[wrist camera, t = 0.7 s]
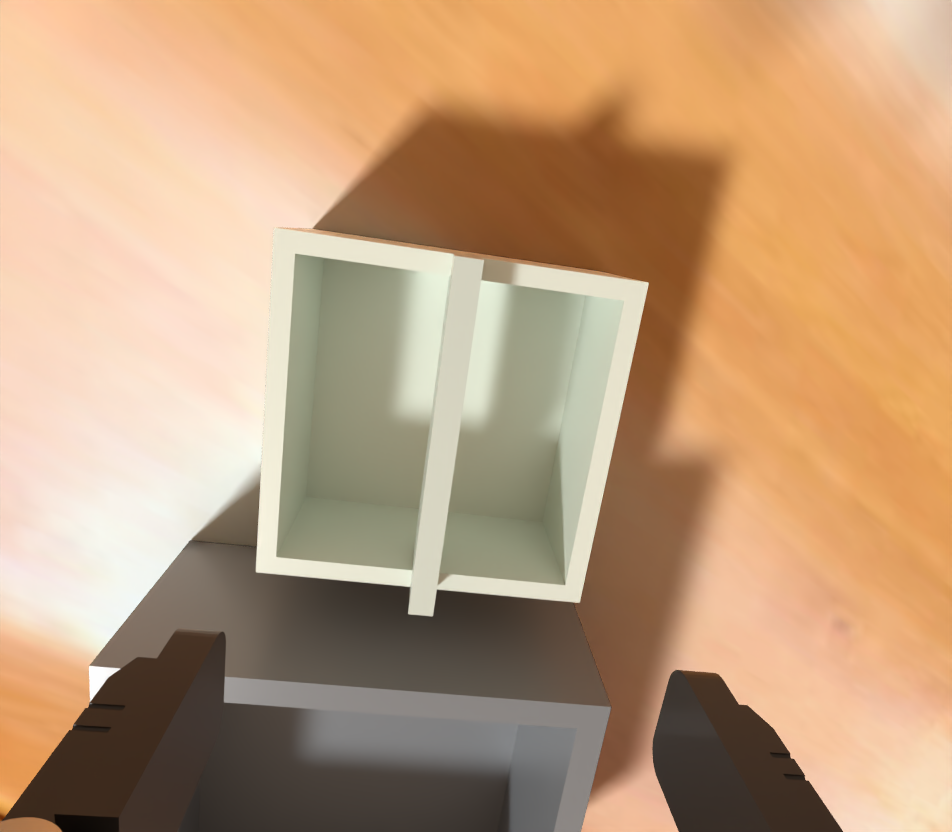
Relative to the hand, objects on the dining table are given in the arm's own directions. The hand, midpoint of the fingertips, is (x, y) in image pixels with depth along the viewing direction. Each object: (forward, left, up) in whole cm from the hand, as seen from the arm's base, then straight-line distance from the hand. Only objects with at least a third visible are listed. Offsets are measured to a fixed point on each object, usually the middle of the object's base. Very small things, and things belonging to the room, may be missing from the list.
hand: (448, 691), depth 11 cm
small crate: (0, 0, -21) cm, 21 cm away
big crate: (+2, +20, -21) cm, 29 cm away
